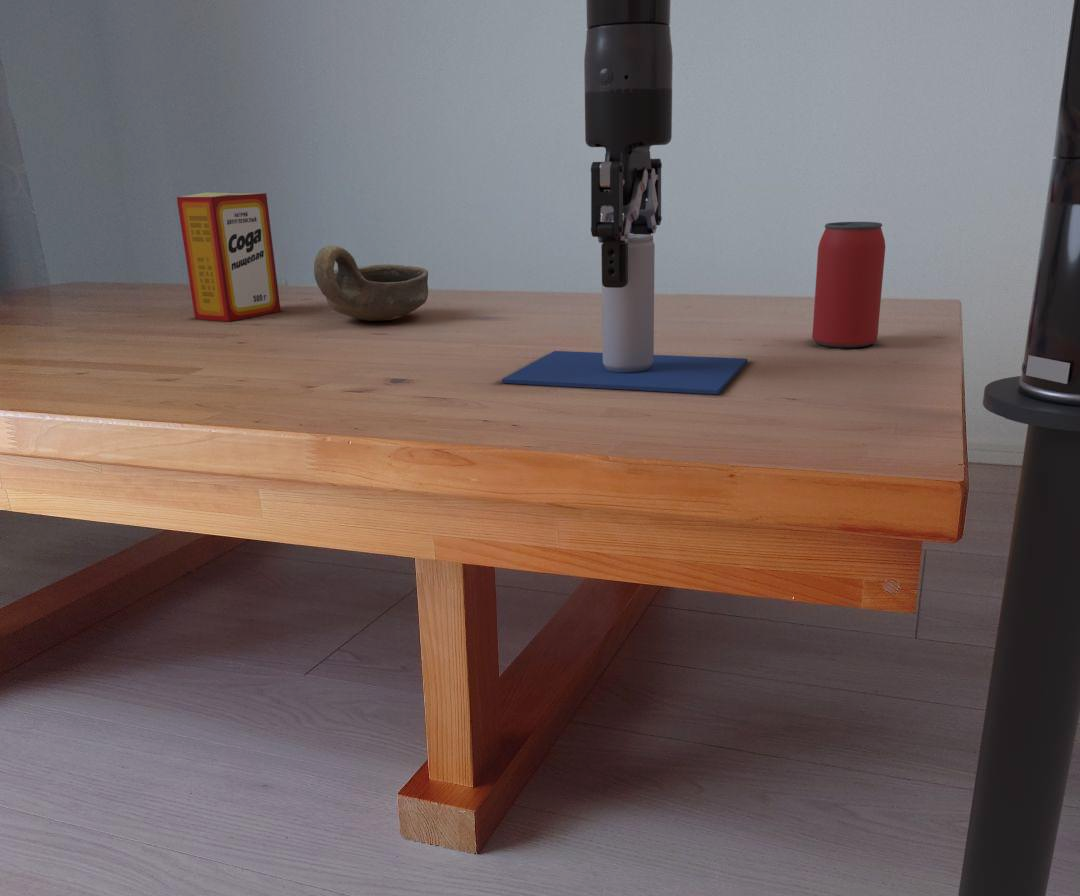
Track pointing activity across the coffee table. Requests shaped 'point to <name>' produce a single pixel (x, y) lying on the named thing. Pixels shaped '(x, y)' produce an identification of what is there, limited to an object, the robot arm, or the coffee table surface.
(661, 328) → the coffee table surface
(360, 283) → the bowl
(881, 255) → the beer can
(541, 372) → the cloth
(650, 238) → the beverage can
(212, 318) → the baking soda box
